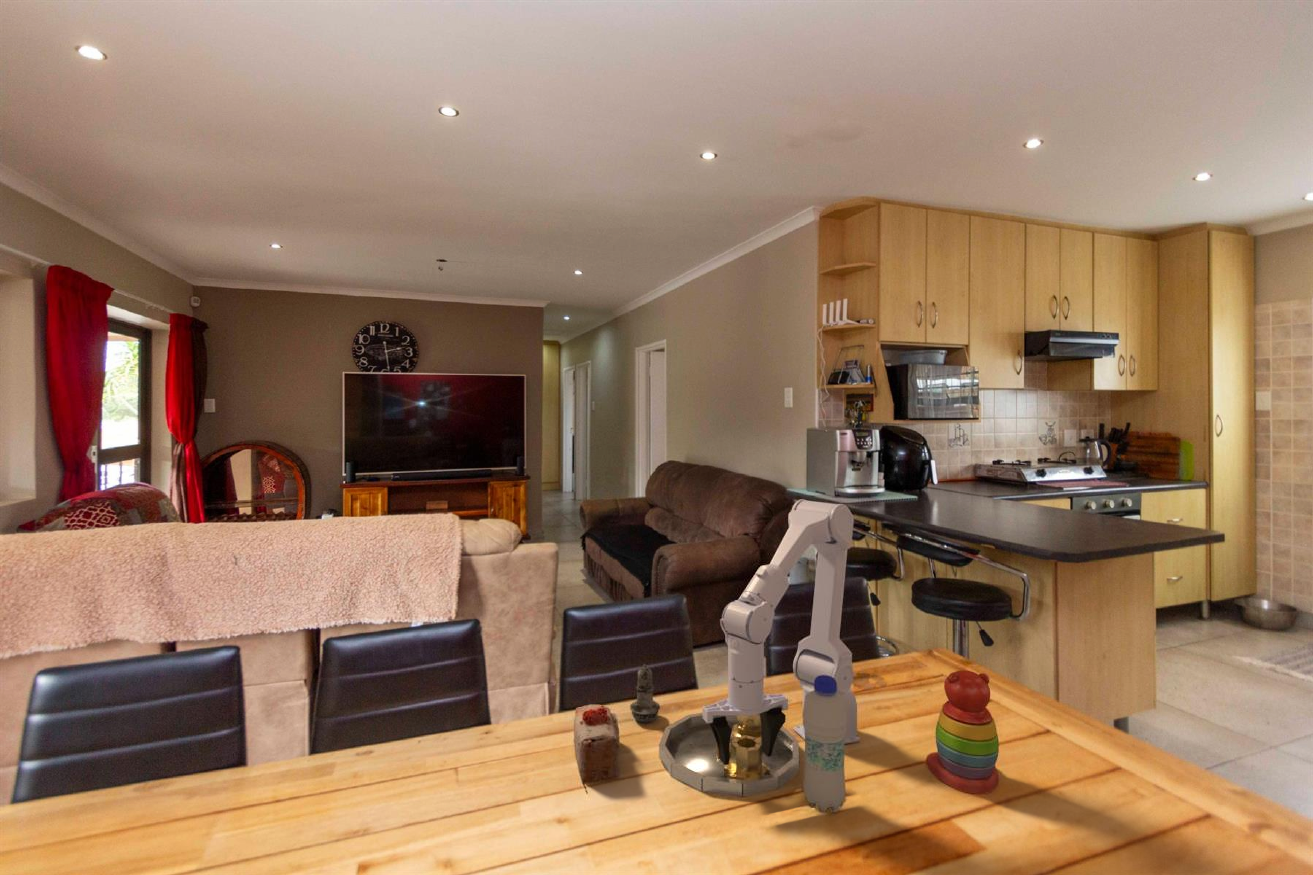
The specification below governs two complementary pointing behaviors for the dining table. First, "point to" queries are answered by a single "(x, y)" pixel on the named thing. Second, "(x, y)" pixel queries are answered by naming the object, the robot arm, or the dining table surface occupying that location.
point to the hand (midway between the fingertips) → (745, 757)
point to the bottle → (824, 745)
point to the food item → (596, 743)
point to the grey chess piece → (644, 698)
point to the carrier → (698, 761)
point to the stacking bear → (966, 736)
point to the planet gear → (746, 759)
